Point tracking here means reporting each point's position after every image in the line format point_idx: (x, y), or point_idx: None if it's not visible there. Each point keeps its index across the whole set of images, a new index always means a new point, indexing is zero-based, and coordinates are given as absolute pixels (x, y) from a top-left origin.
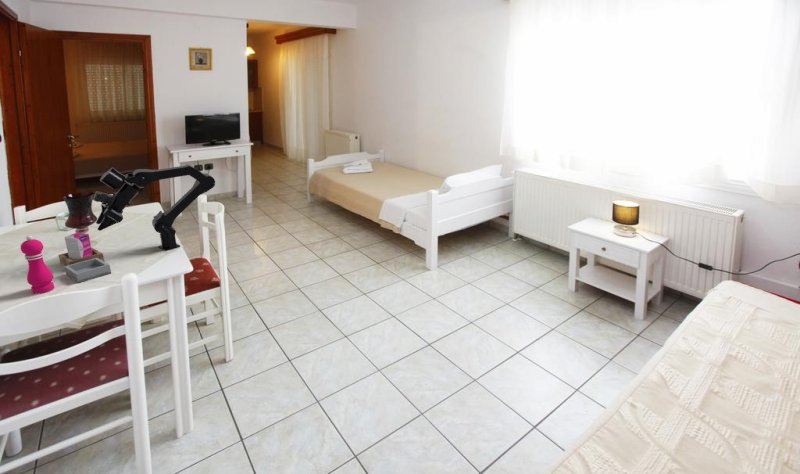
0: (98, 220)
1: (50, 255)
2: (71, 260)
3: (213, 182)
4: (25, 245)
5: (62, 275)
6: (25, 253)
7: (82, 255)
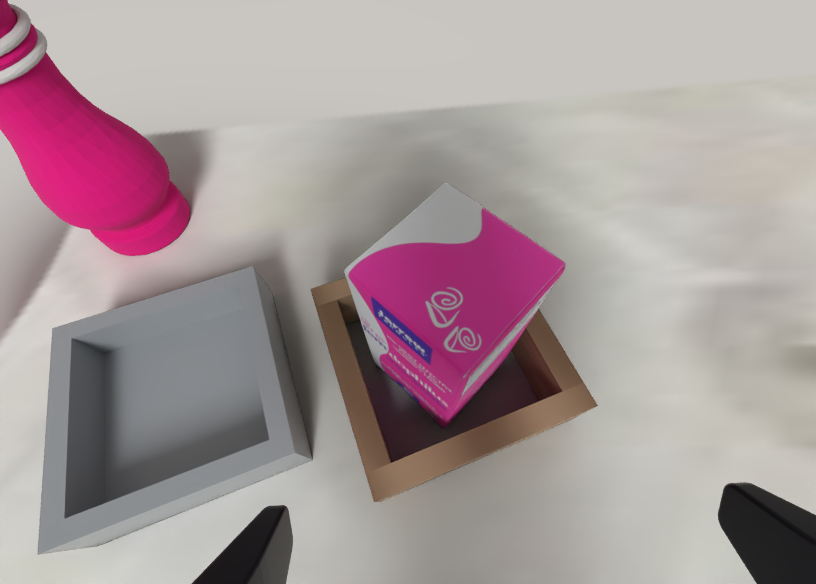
0: (790, 548)
1: (631, 216)
2: (338, 296)
3: None
4: None
5: (280, 278)
6: None
7: (376, 353)
